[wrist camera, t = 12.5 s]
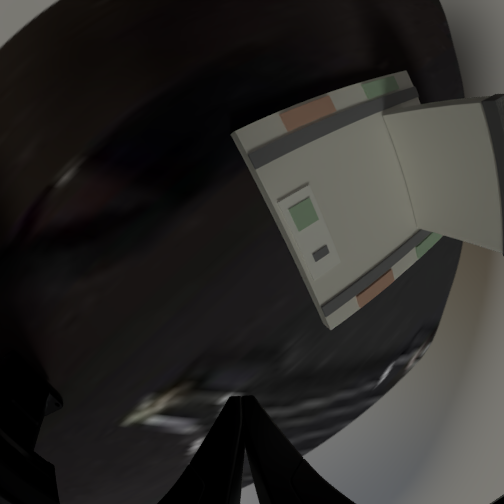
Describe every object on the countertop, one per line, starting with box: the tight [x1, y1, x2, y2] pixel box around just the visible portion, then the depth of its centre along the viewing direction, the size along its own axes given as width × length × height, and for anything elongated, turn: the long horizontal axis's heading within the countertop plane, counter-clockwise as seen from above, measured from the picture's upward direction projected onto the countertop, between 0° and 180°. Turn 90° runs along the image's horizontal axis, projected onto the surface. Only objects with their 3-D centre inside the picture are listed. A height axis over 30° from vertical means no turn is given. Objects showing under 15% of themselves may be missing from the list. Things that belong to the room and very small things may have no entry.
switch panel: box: [231, 71, 443, 330], centre depth 19 cm, size 17×16×2 cm
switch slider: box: [383, 94, 504, 256], centre depth 15 cm, size 3×10×10 cm, turn 28°
